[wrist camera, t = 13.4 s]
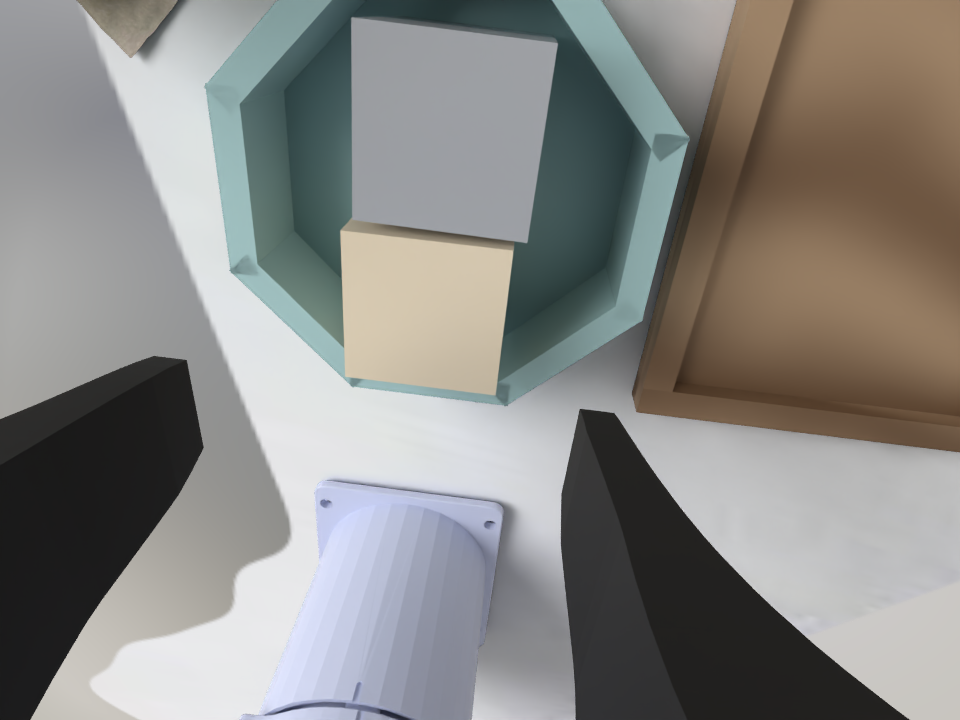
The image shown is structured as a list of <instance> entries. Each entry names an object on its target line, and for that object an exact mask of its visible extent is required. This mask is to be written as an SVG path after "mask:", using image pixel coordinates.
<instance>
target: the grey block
mask: <svg viewBox="0 0 960 720" xmlns="http://www.w3.org/2000/svg"><path fill="white" fill-rule="evenodd" d="M557 46H558V42H557V41H556V39H555V37H554V35H552V34H544V33H536V32H528V31H520V30H512V29H504V28H496V27H488V26H480V25H472V24H464V23H456V22H448V21H440V20H432V19H424V18H416V17H408V16H379V17H351V56H352V220H357V221H365V222H372V223H380V224H387V225H395V226H402V227H410V228H417V229H425V230H433V231H440V232H448V233H455V234H463V235H470V236H478V237H485V238H493V239H500V240H508V241H516V242H523V243H527V241H528V235H529V228H530V222H531V215H532V209H533V202H534V196H535V189H536V183H537V176H538V170H539V163H540V157H541V150H542V144H543V137H544V131H545V124H546V118H547V111H548V105H549V98H550V92H551V85H552V79H553V72H554V66H555V59H556V53H557Z"/></svg>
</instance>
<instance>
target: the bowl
mask: <svg viewBox="0 0 960 720" xmlns="http://www.w3.org/2000/svg"><path fill="white" fill-rule="evenodd" d="M379 16H408V17H416V18H424V19H432V20H440V21H448V22H456V23H464V24H472V25H480V26H488V27H496V28H504V29H512V30H520V31H528V32H536V33H544V34H552V35H554V37H555V39H556V41H557V42H558V46H557V53H556V59H555V66H554V72H553V79H552V85H551V92H550V98H549V105H548V111H547V118H546V124H545V131H544V137H543V144H542V150H541V157H540V163H539V170H538V176H537V183H536V189H535V196H534V202H533V209H532V215H531V222H530V228H529V235H528V241H527V243H523V242H516V241H515V242H514V251H513V259H512V267H511V275H510V283H509V291H508V299H507V307H506V315H505V323H504V331H503V339H502V347H501V355H500V363H499V371H498V379H497V387H496V395H488V394H480V393H472V392H464V391H456V390H448V389H440V388H432V387H424V386H416V385H407V384H399V383H391V382H383V381H375V380H367V379H359V378H351V377H345V357H344V326H343V296H342V266H341V235H340V230H341V229H342V228H343V227H344V226H345V225H346V224H347V223H348V222H349V220H350V219H351V218H352V56H351V17H379ZM205 88H206V94H207V101H208V109H209V116H210V123H211V131H212V138H213V145H214V153H215V160H216V167H217V175H218V182H219V189H220V197H221V204H222V211H223V219H224V226H225V233H226V240H227V248H228V255H229V262H230V270H229V271H231V273H233V274H234V275H235V276H236V277H237V278H238V279H239V280H240V281H241V282H242V283H243V284H244V285H245V286H246V287H247V288H248V289H250V290H251V291H252V292H253V293H254V294H255V295H256V296H257V297H258V298H259V299H260V300H261V301H262V302H263V303H264V304H265V305H266V306H268V307H269V308H270V309H271V310H272V311H273V312H274V313H275V314H276V315H277V316H278V317H279V318H280V319H281V320H282V321H283V322H284V323H285V324H287V325H288V326H289V327H290V328H291V329H292V330H293V331H294V332H295V333H296V334H297V335H298V336H299V337H300V338H301V339H302V340H303V341H304V342H306V343H307V344H308V345H309V346H310V347H311V348H312V349H313V350H314V351H315V352H316V353H317V354H318V355H319V356H320V357H321V358H322V359H323V360H325V361H326V362H327V363H328V364H329V365H330V366H331V367H332V368H333V369H334V370H335V371H336V372H337V373H338V374H339V375H340V376H341V377H343V378H344V379H345V380H346V381H347V382H348V383H349V384H350V385H351V386H352V387H360V388H368V389H376V390H385V391H393V392H401V393H409V394H417V395H425V396H433V397H441V398H449V399H457V400H465V401H473V402H481V403H489V404H497V405H504V406H508V404H510V403H511V402H513V401H514V400H516V399H518V398H519V397H521V396H522V395H524V394H526V393H527V392H529V391H530V390H532V389H534V388H535V387H537V386H538V385H540V384H542V383H543V382H545V381H546V380H548V379H550V378H551V377H553V376H554V375H556V374H558V373H559V372H561V371H562V370H564V369H566V368H567V367H569V366H570V365H572V364H574V363H575V362H577V361H578V360H580V359H582V358H583V357H585V356H586V355H588V354H590V353H591V352H593V351H594V350H596V349H598V348H599V347H601V346H602V345H604V344H606V343H607V342H609V341H610V340H612V339H614V338H615V337H617V336H618V335H620V334H622V333H623V332H625V331H626V330H628V329H630V328H631V327H633V326H634V325H636V324H638V323H639V322H642V320H643V315H644V311H645V307H646V303H647V299H648V296H649V292H650V288H651V284H652V280H653V276H654V272H655V268H656V264H657V261H658V257H659V253H660V249H661V245H662V241H663V237H664V233H665V230H666V226H667V222H668V218H669V214H670V210H671V206H672V202H673V199H674V195H675V191H676V187H677V183H678V179H679V175H680V171H681V168H682V164H683V160H684V156H685V152H686V148H687V144H688V141H690V139H689V136H688V135H687V134H686V133H685V132H684V130H683V128H682V127H681V125H680V124H679V122H678V120H677V119H676V117H675V116H674V114H673V113H672V111H671V109H670V108H669V106H668V105H667V103H666V102H665V100H664V98H663V97H662V95H661V94H660V92H659V90H658V89H657V87H656V86H655V84H654V83H653V81H652V79H651V78H650V76H649V75H648V73H647V72H646V70H645V68H644V67H643V65H642V64H641V62H640V61H639V59H638V57H637V56H636V54H635V53H634V51H633V49H632V48H631V46H630V45H629V43H628V42H627V40H626V38H625V37H624V35H623V34H622V32H621V31H620V29H619V27H618V26H617V24H616V23H615V21H614V20H613V18H612V16H611V15H610V13H609V12H608V10H607V8H606V7H605V5H604V4H603V2H602V1H601V0H277V1H276V2H275V3H274V5H273V6H272V7H271V8H270V9H269V11H268V12H267V13H266V14H265V15H264V16H263V18H262V19H261V20H260V21H259V22H258V24H257V25H256V26H255V27H254V28H253V30H252V31H251V32H250V33H249V34H248V35H247V37H246V38H245V39H244V40H243V41H242V43H241V44H240V45H239V46H238V47H237V49H236V50H235V51H234V52H233V53H232V54H231V56H230V57H229V58H228V59H227V60H226V62H225V63H224V64H223V65H222V66H221V68H220V69H219V70H218V71H217V72H216V73H215V75H214V76H213V77H212V78H211V79H210V81H209V82H208V83H205Z"/></svg>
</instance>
